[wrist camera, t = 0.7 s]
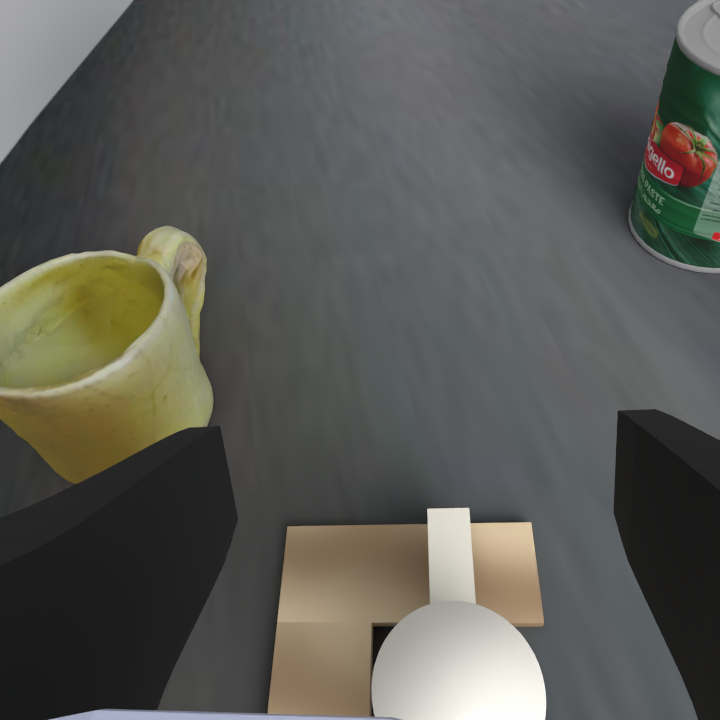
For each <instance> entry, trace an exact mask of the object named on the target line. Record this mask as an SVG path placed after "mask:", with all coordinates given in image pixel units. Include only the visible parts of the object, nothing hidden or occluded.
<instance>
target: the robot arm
mask: <svg viewBox="0 0 720 720" xmlns="http://www.w3.org/2000/svg"><path fill="white" fill-rule="evenodd" d="M614 515H615V519H616V522H617V526H618V529H619V533H620V536H621V540H622V543H623V546H624V549H625V552H626V556H627V559H628V562H629V564H630V566H631V568H632V571H633V573H634V575H635V577H636V579H637V582H638V584H639V586H640V588H641V590H642V593H643V595H644V597H645V599H646V601H647V603H648V606H649V608H650V610H651V612H652V614H653V616H654V618H655V620H656V623H657V625H658V627H659V629H660V631H661V633H662V635H663V638H664V640H665V642H666V644H667V646H668V648H669V650H670V653H671V655H672V657H673V659H674V661H675V663H676V665H677V667H678V670H679V672H680V674H681V676H682V679H683V681H684V683H685V686H686V688H687V691H688V693H689V696H690V698H691V700H692V703H693V706H694V709H695V711H696V714H697V717H698V720H720V440H718V439H716V438H714V437H712V436H710V435H708V434H706V433H704V432H702V431H701V430H699V429H697V428H695V427H693V426H691V425H689V424H687V423H685V422H683V421H681V420H679V419H677V418H675V417H673V416H671V415H669V414H666V413H664V412H661V411H659V410H656V409H651V410H625V411H618V420H617V444H616V468H615V491H614ZM237 520H238V516H237V511H236V506H235V501H234V496H233V491H232V485H231V480H230V475H229V470H228V465H227V460H226V455H225V449H224V444H223V439H222V434H221V429H220V426H213V427H189V428H186V429H184V430H181V431H178V432H176V433H174V434H172V435H170V436H167V437H165V438H163V439H161V440H160V441H158V442H156V443H154V444H152V445H150V446H148V447H146V448H144V449H143V450H141V451H139V452H137V453H135V454H133V455H131V456H130V457H128V458H126V459H124V460H122V461H120V462H118V463H117V464H115V465H113V466H111V467H109V468H107V469H105V470H104V471H102V472H100V473H98V474H96V475H94V476H92V477H90V478H88V479H86V480H84V481H82V482H80V483H78V484H76V485H74V486H72V487H70V488H68V489H66V490H64V491H62V492H60V493H58V494H56V495H53V496H51V497H49V498H47V499H45V500H43V501H40V502H38V503H36V504H33V505H31V506H29V507H27V508H24V509H22V510H19V511H17V512H14V513H12V514H9V515H7V516H4V517H2V518H0V720H402V719H398V718H394V717H367V716H333V715H299V714H265V713H231V712H197V711H163V710H157V708H158V706H159V703H160V700H161V697H162V695H163V692H164V689H165V687H166V685H167V682H168V680H169V678H170V675H171V673H172V671H173V669H174V666H175V664H176V662H177V660H178V658H179V656H180V654H181V652H182V650H183V648H184V646H185V644H186V642H187V640H188V637H189V635H190V633H191V631H192V629H193V627H194V625H195V623H196V621H197V619H198V617H199V615H200V613H201V611H202V609H203V607H204V605H205V603H206V601H207V599H208V597H209V594H210V592H211V590H212V588H213V586H214V584H215V582H216V580H217V578H218V576H219V573H220V571H221V569H222V567H223V565H224V562H225V559H226V556H227V553H228V550H229V547H230V544H231V541H232V537H233V534H234V530H235V527H236V523H237Z"/></svg>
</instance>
